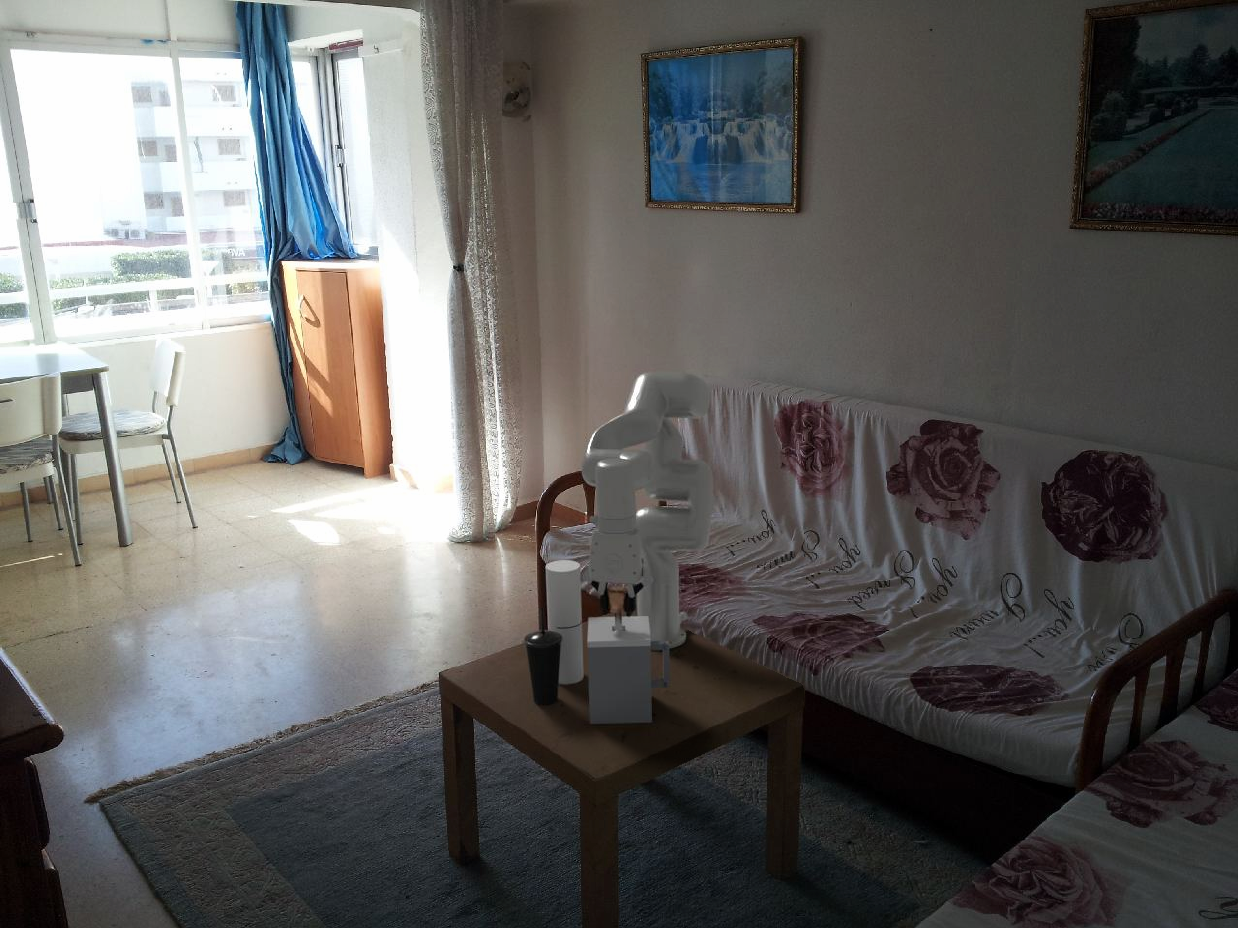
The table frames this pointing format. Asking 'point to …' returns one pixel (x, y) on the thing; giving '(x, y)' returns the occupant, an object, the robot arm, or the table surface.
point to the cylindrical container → (566, 616)
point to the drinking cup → (544, 663)
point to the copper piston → (617, 604)
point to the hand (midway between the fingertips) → (618, 612)
